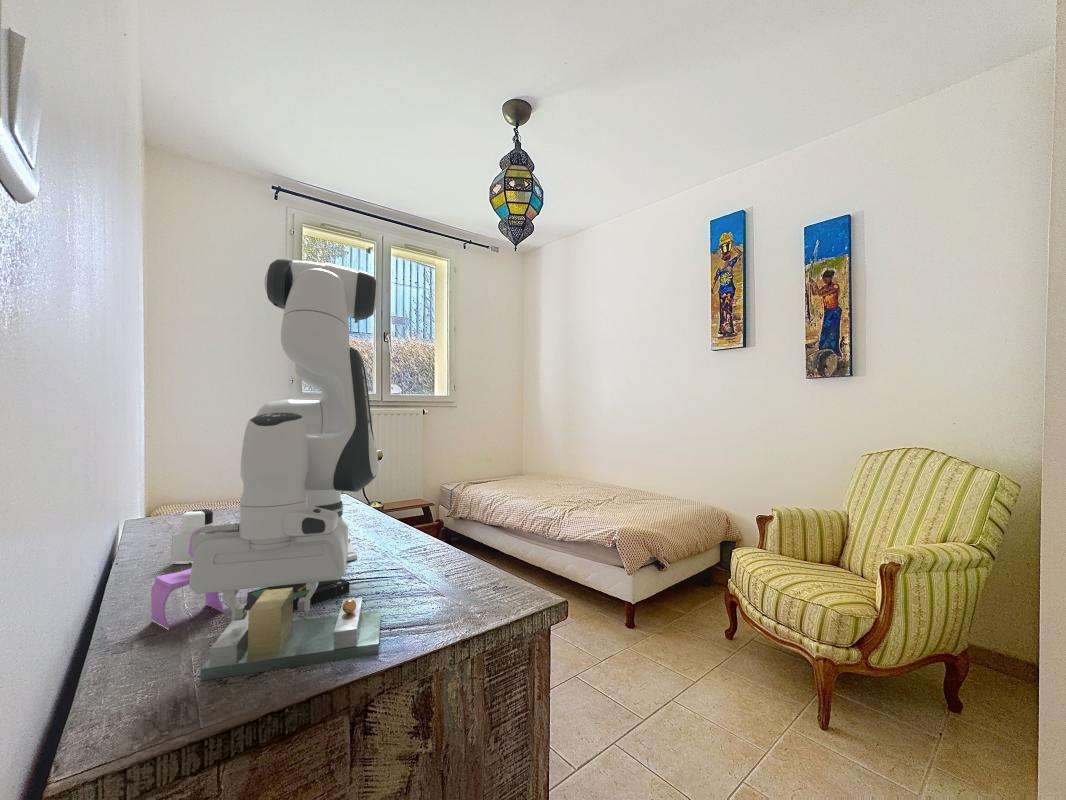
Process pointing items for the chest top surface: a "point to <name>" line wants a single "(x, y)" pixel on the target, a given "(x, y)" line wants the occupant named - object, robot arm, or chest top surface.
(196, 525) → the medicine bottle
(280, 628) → the brass block
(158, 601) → the toy chair
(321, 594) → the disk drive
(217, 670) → the vise
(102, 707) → the chest top surface
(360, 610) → the sliding jaw
